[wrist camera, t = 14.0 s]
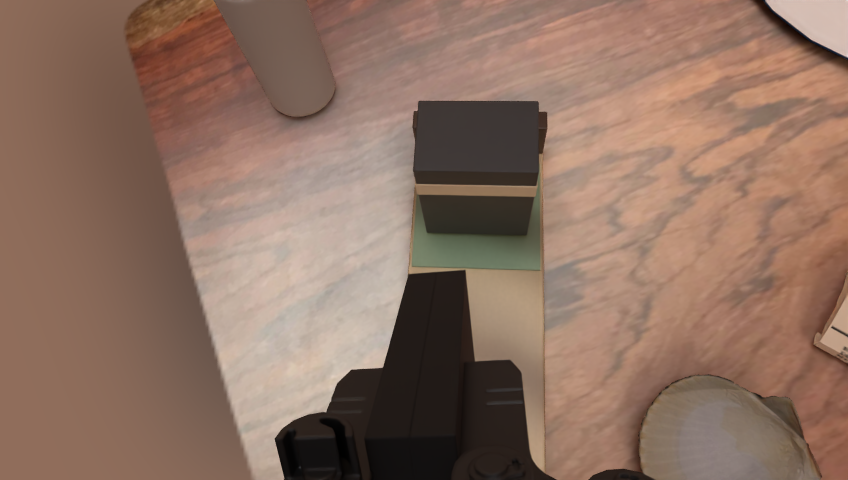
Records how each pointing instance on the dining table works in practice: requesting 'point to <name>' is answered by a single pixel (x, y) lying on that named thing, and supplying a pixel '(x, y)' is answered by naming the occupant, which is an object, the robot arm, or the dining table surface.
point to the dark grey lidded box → (477, 165)
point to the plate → (816, 21)
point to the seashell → (723, 434)
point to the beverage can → (282, 52)
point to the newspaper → (836, 328)
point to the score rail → (499, 294)
